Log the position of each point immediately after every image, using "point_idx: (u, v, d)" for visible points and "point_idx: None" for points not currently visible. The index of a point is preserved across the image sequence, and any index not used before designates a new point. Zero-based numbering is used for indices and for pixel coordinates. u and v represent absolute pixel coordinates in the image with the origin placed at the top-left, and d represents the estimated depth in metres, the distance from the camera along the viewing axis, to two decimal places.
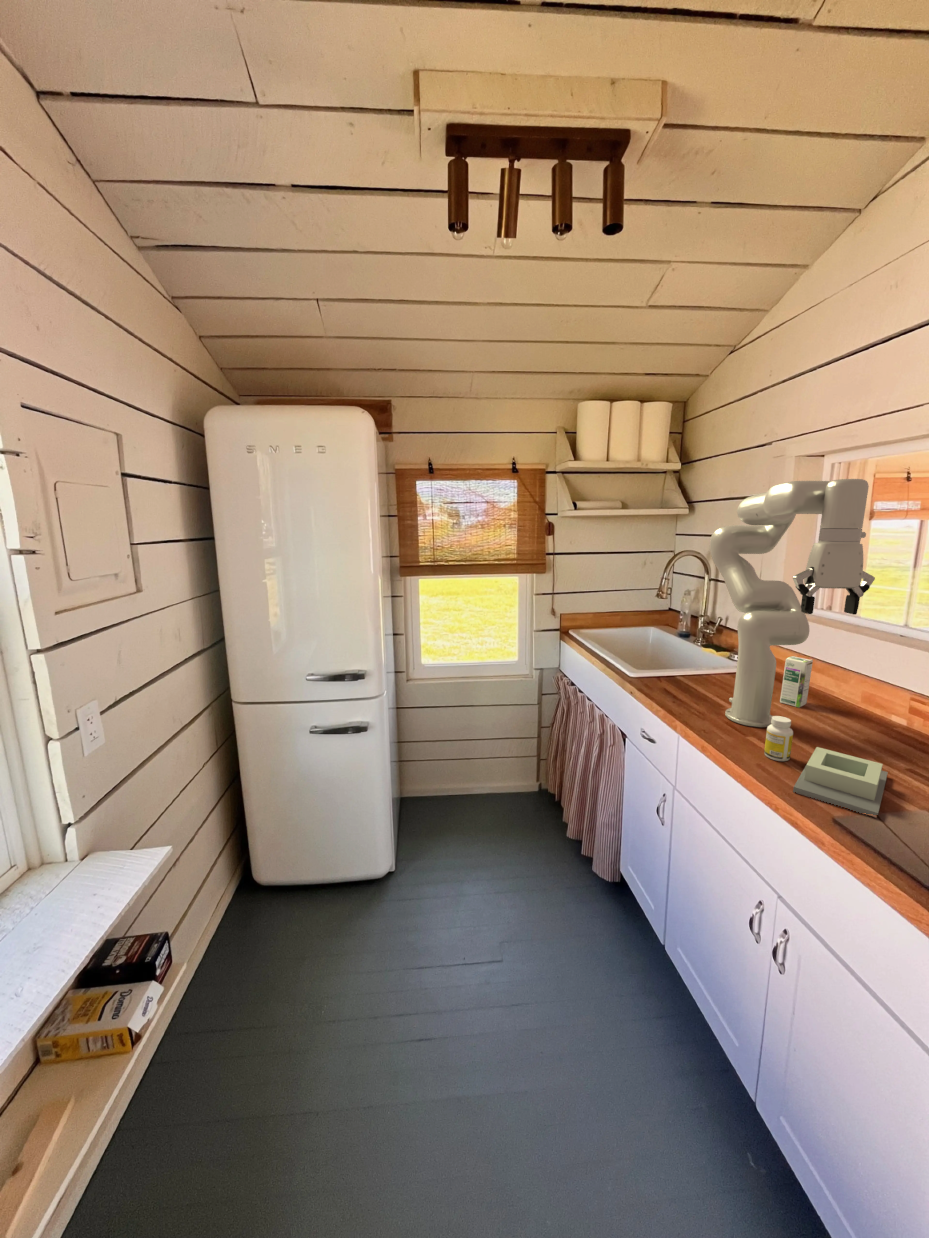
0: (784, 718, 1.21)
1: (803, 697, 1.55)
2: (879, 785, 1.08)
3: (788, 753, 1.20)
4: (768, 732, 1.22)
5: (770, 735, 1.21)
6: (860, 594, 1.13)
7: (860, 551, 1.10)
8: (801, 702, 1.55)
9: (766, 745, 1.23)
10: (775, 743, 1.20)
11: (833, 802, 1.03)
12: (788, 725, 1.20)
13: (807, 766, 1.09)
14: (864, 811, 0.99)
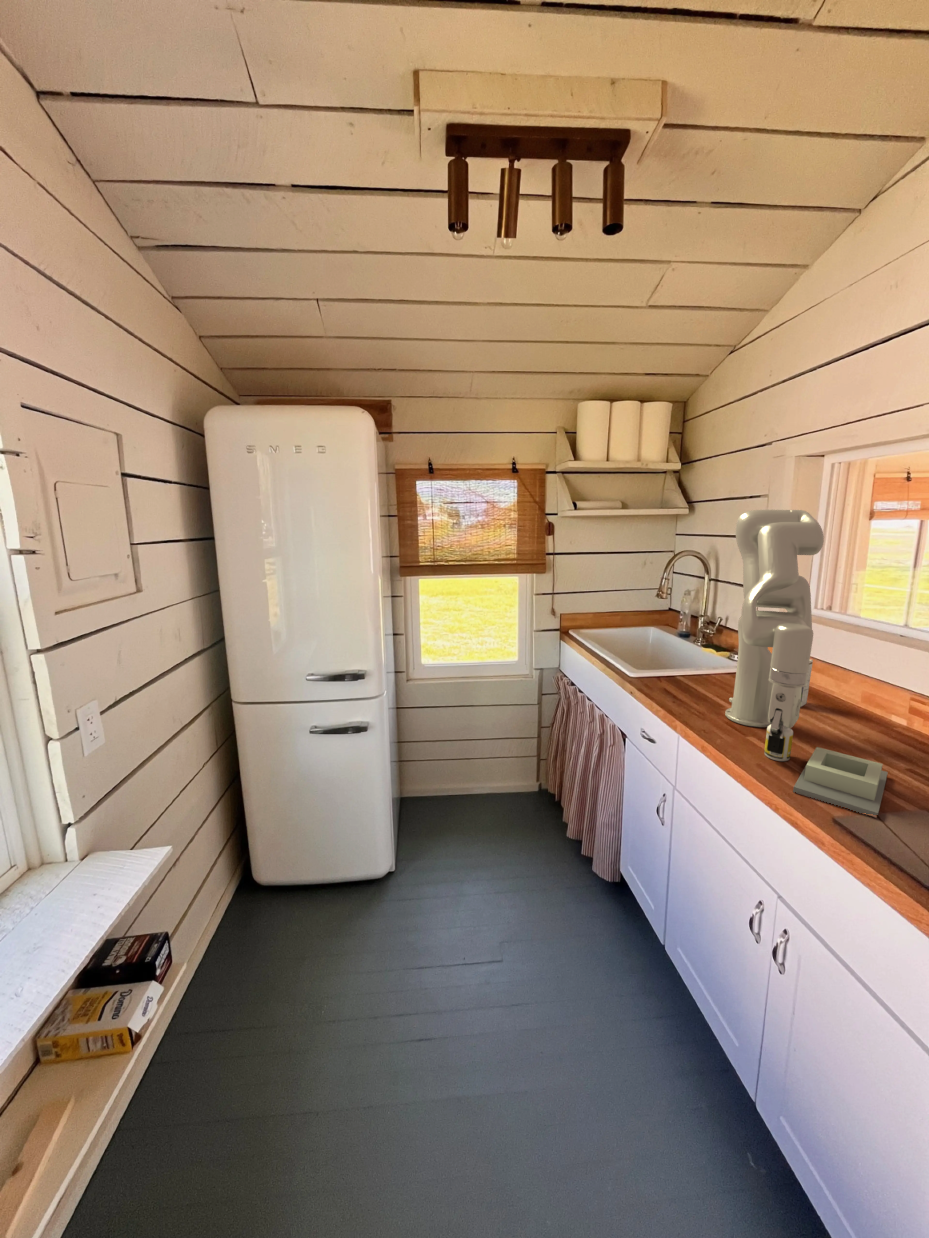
0: None
1: (803, 697, 1.55)
2: (879, 785, 1.08)
3: (788, 753, 1.20)
4: (768, 732, 1.22)
5: None
6: None
7: (772, 689, 1.19)
8: (801, 702, 1.55)
9: (766, 745, 1.23)
10: None
11: (833, 802, 1.03)
12: None
13: (807, 766, 1.09)
14: (864, 811, 0.99)
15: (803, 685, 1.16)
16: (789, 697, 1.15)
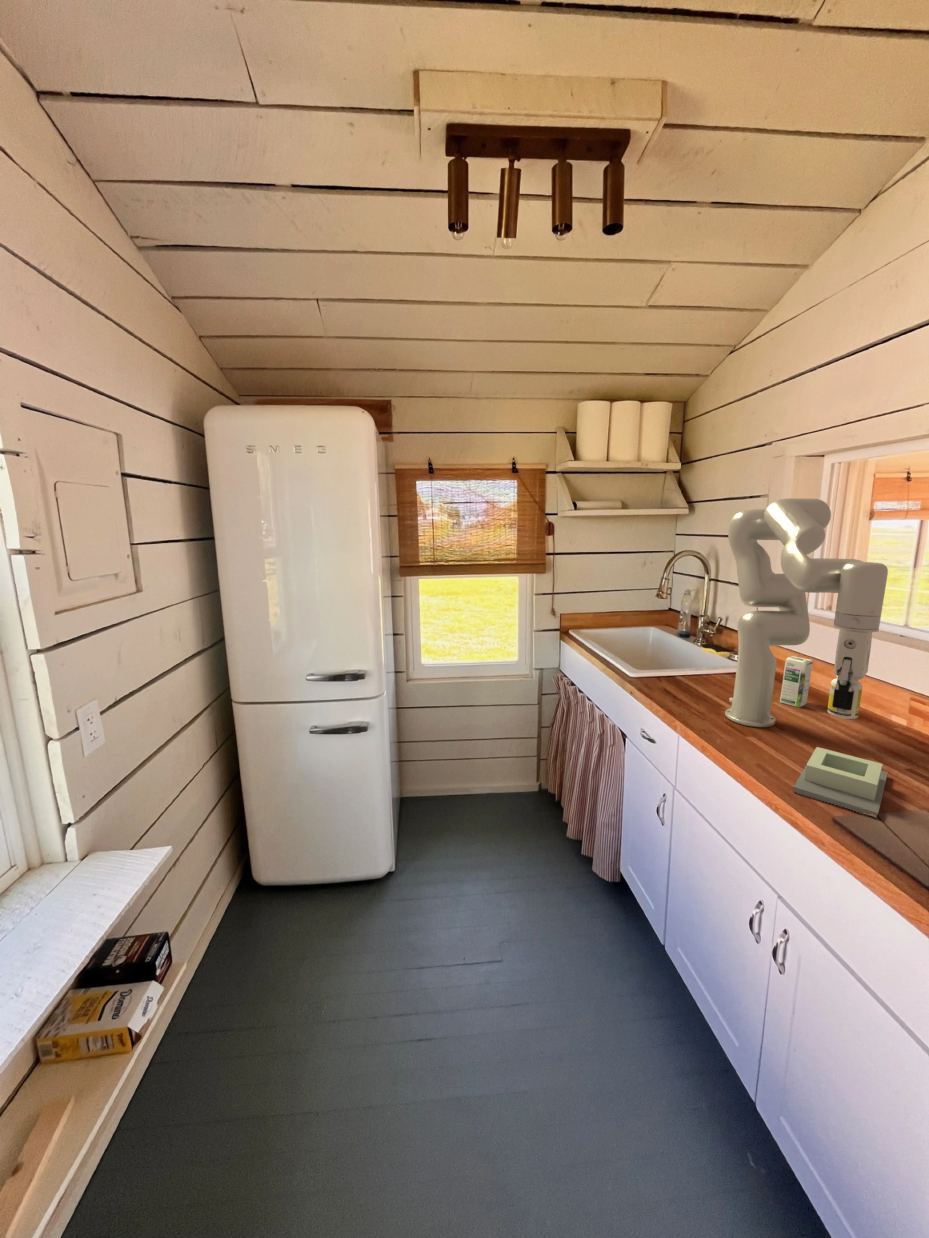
0: None
1: (803, 697, 1.55)
2: (879, 785, 1.08)
3: (857, 709, 1.06)
4: (833, 686, 1.08)
5: None
6: None
7: (838, 636, 1.05)
8: (801, 702, 1.55)
9: (830, 701, 1.09)
10: None
11: (833, 802, 1.03)
12: (857, 677, 1.05)
13: (807, 766, 1.09)
14: (864, 811, 0.99)
15: (876, 630, 1.02)
16: (860, 643, 1.01)
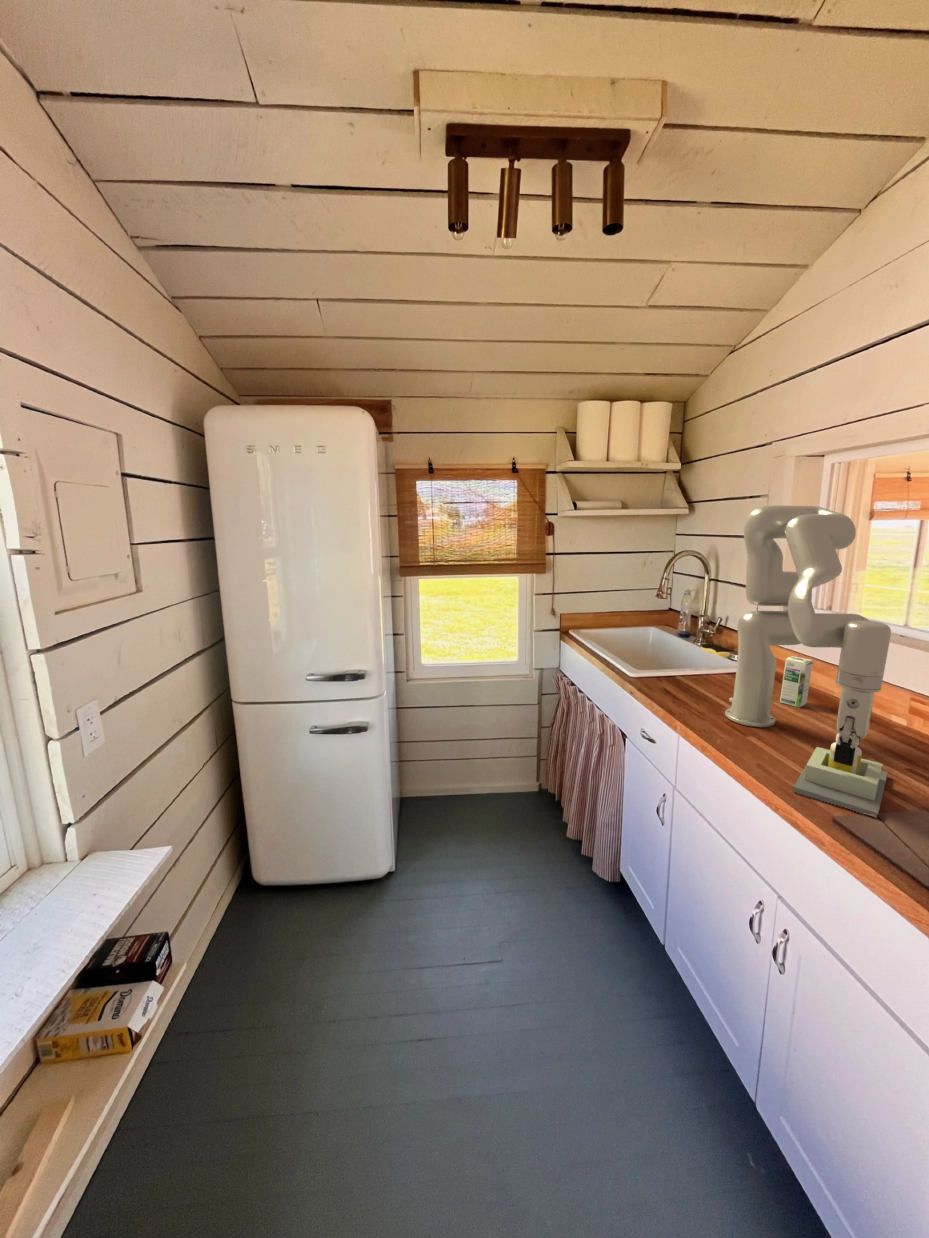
0: None
1: (803, 697, 1.55)
2: (879, 785, 1.08)
3: None
4: (833, 751, 1.09)
5: None
6: None
7: (841, 695, 1.05)
8: (801, 702, 1.55)
9: (830, 765, 1.10)
10: None
11: (833, 802, 1.03)
12: (856, 744, 1.07)
13: (807, 766, 1.09)
14: (864, 811, 0.99)
15: (878, 690, 1.03)
16: (863, 703, 1.02)
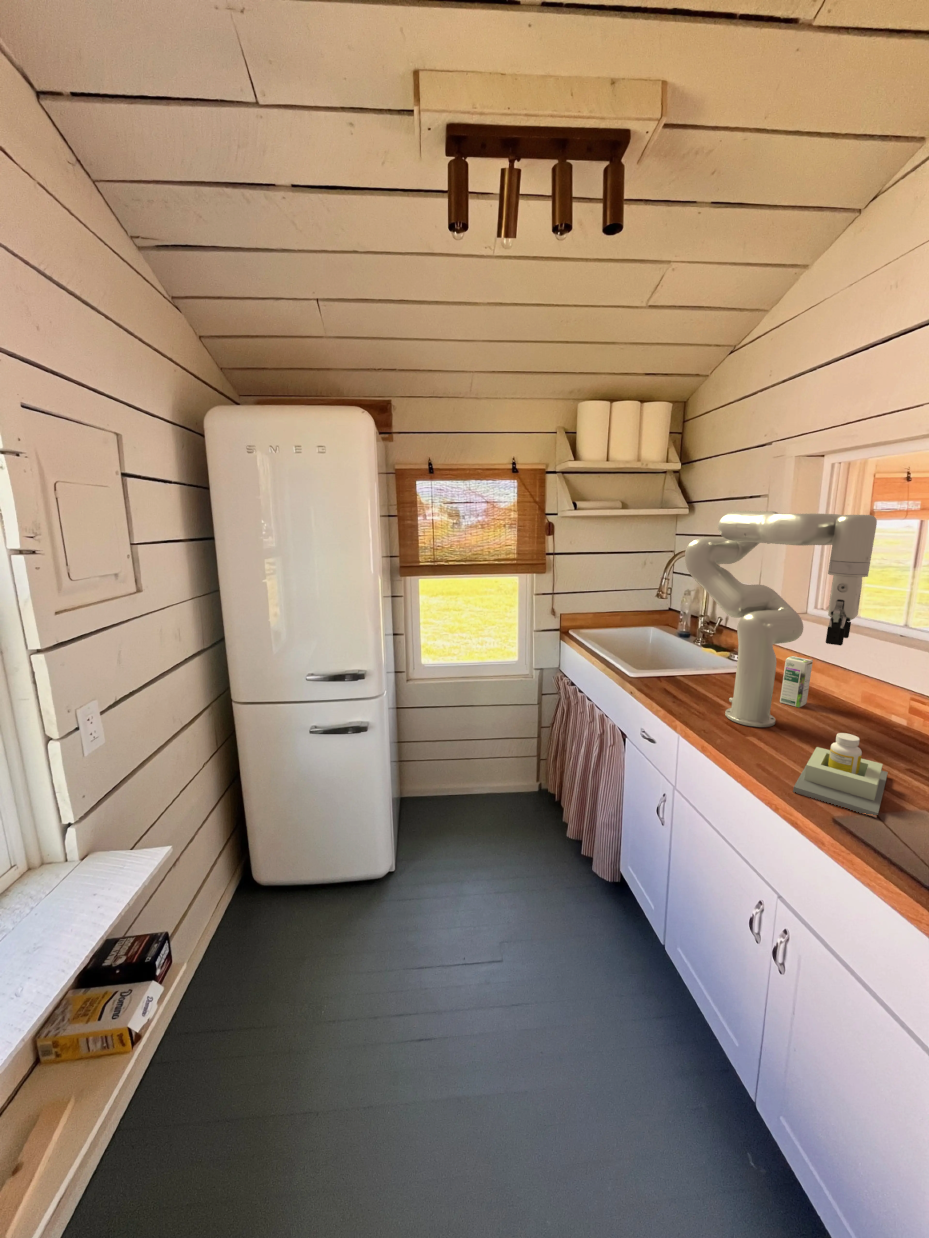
0: (851, 736, 1.09)
1: (803, 697, 1.55)
2: (879, 785, 1.08)
3: None
4: (833, 751, 1.09)
5: (835, 754, 1.09)
6: None
7: (832, 582, 1.17)
8: (801, 702, 1.55)
9: (830, 765, 1.10)
10: (842, 763, 1.08)
11: (833, 802, 1.03)
12: (856, 744, 1.07)
13: (807, 766, 1.09)
14: (864, 811, 0.99)
15: (866, 575, 1.14)
16: (852, 586, 1.14)
